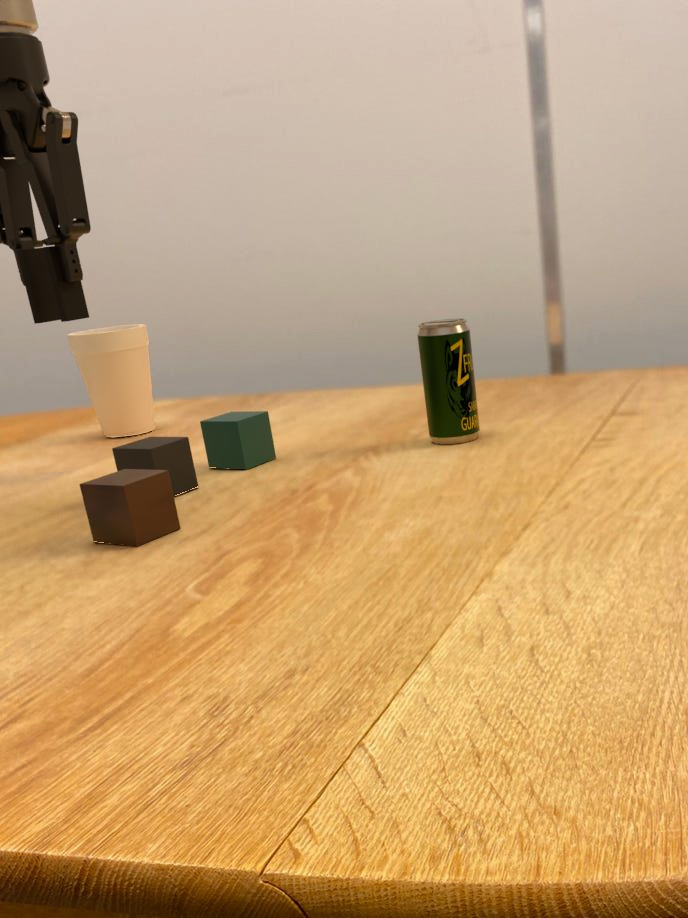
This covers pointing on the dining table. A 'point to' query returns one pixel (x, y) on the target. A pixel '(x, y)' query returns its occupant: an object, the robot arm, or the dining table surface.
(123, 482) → the walnut block
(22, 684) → the dining table surface
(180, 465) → the charcoal block
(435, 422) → the beer can
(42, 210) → the robot arm
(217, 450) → the teal block
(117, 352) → the foam cup
